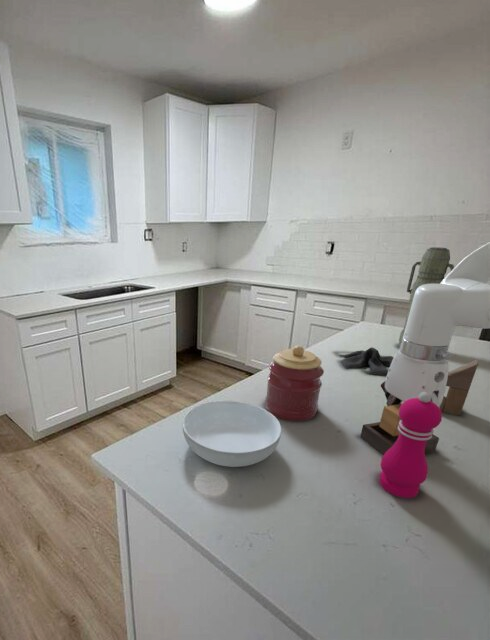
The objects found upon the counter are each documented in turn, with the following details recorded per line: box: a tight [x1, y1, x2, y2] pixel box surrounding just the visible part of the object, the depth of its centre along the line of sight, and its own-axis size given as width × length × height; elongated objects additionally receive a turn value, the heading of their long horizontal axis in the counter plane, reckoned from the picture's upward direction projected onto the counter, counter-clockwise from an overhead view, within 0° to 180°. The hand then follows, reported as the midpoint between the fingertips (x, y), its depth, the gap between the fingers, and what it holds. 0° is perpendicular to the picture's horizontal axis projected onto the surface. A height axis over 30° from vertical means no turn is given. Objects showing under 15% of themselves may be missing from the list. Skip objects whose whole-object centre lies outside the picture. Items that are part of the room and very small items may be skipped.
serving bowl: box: [181, 400, 283, 468], centre depth 78 cm, size 21×21×7 cm
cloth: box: [338, 347, 394, 376], centre depth 119 cm, size 22×19×6 cm
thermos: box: [397, 246, 456, 349], centre depth 124 cm, size 9×12×35 cm
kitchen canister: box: [264, 345, 325, 422], centre depth 91 cm, size 13×13×18 cm
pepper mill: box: [378, 392, 443, 499], centre depth 64 cm, size 7×7×20 cm
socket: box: [360, 421, 440, 456], centre depth 79 cm, size 12×8×4 cm
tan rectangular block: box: [379, 403, 403, 436], centre depth 77 cm, size 7×4×5 cm, turn 103°
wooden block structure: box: [439, 359, 479, 416], centre depth 90 cm, size 4×11×18 cm, turn 52°
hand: (400, 427), depth 78 cm, fingers closed on tan rectangular block, 4 cm apart
